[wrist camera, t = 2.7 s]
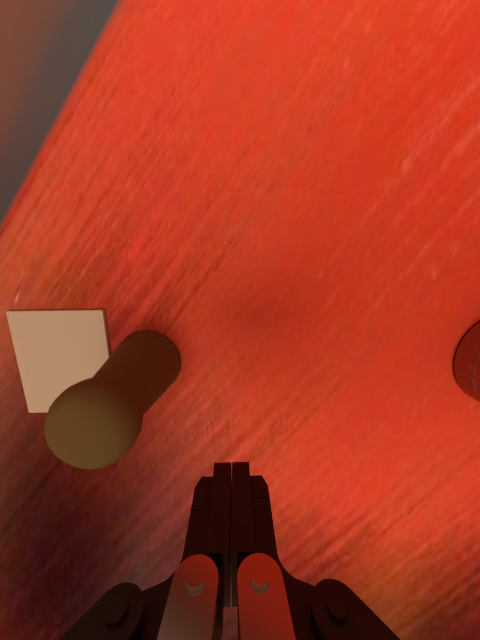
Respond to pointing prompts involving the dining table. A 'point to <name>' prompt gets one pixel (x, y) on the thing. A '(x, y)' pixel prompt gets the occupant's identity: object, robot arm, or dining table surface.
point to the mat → (57, 350)
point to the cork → (111, 402)
